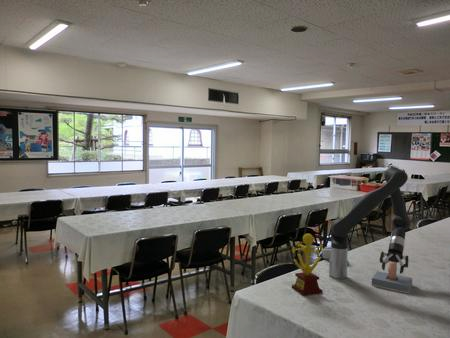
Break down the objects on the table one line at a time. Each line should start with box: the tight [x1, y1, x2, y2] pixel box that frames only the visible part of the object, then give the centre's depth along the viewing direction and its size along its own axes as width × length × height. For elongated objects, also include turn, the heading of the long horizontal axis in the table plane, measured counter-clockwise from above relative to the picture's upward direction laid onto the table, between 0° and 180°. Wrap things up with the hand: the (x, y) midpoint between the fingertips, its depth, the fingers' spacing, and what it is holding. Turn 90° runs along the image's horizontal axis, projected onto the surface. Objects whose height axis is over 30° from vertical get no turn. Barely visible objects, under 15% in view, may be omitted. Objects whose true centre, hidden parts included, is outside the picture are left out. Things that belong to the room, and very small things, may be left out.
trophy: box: [291, 233, 324, 297], centre depth 183 cm, size 14×16×30 cm
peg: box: [387, 261, 398, 280], centre depth 192 cm, size 4×4×12 cm
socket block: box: [371, 270, 413, 294], centre depth 193 cm, size 18×14×4 cm
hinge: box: [321, 246, 349, 263], centre depth 235 cm, size 17×5×10 cm, turn 44°
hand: (392, 271), depth 191 cm, fingers open, 8 cm apart
